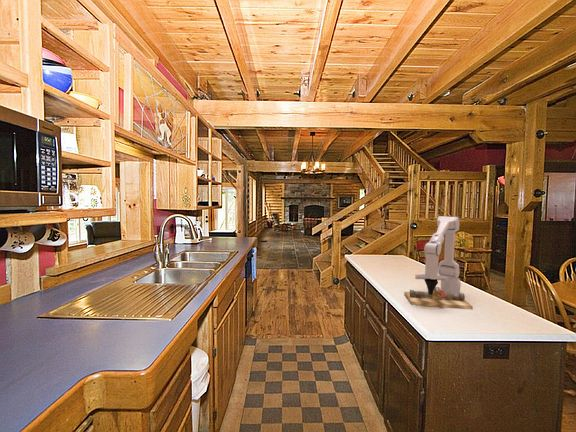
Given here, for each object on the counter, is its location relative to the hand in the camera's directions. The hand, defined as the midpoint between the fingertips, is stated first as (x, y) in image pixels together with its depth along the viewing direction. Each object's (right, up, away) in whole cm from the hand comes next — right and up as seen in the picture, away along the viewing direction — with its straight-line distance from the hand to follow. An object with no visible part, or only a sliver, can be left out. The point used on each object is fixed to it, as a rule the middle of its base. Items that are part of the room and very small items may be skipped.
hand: (430, 294), depth 149 cm
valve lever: (+5, +1, +1) cm, 5 cm away
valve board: (+6, -5, +5) cm, 9 cm away
